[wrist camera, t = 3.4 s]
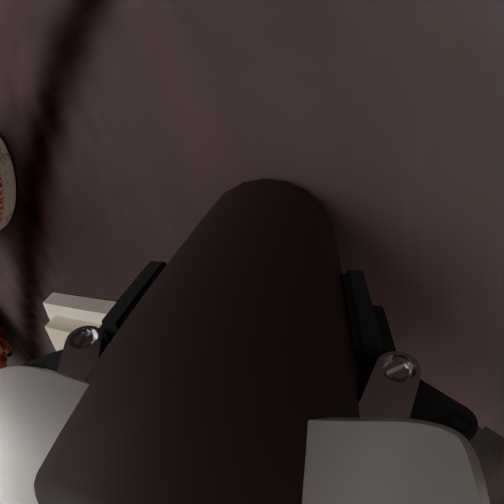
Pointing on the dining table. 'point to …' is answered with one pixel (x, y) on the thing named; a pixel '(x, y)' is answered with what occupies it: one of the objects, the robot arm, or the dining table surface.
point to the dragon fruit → (4, 348)
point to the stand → (72, 315)
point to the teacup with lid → (6, 186)
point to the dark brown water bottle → (217, 366)
